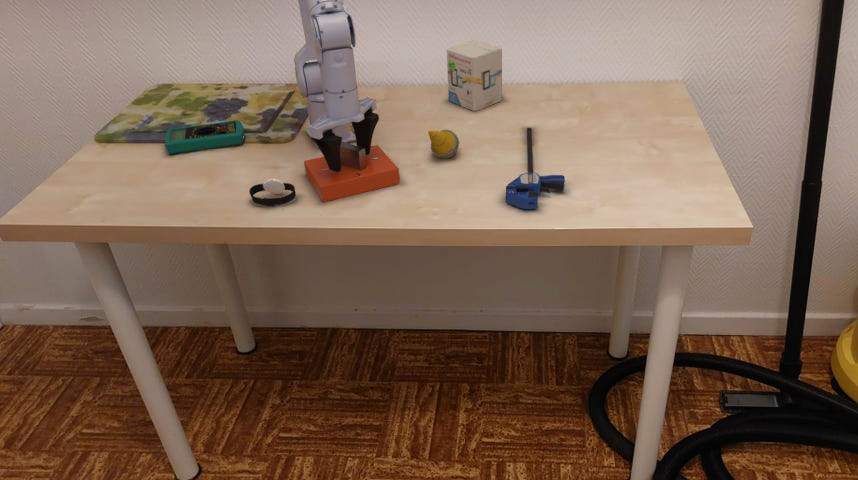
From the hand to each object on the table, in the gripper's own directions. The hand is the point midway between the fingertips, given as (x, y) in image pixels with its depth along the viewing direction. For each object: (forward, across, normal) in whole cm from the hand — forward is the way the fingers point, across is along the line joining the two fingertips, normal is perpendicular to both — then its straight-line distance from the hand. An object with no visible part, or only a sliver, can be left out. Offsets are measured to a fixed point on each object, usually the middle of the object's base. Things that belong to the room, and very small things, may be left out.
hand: (349, 161), depth 130 cm
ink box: (+4, +41, +2) cm, 42 cm away
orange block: (+4, 0, 0) cm, 4 cm away
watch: (+4, -13, +6) cm, 15 cm away
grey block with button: (+1, 0, 0) cm, 1 cm away
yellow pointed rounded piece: (+4, +16, -9) cm, 18 cm away
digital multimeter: (+4, -4, +36) cm, 36 cm away
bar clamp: (+4, +21, -25) cm, 33 cm away
